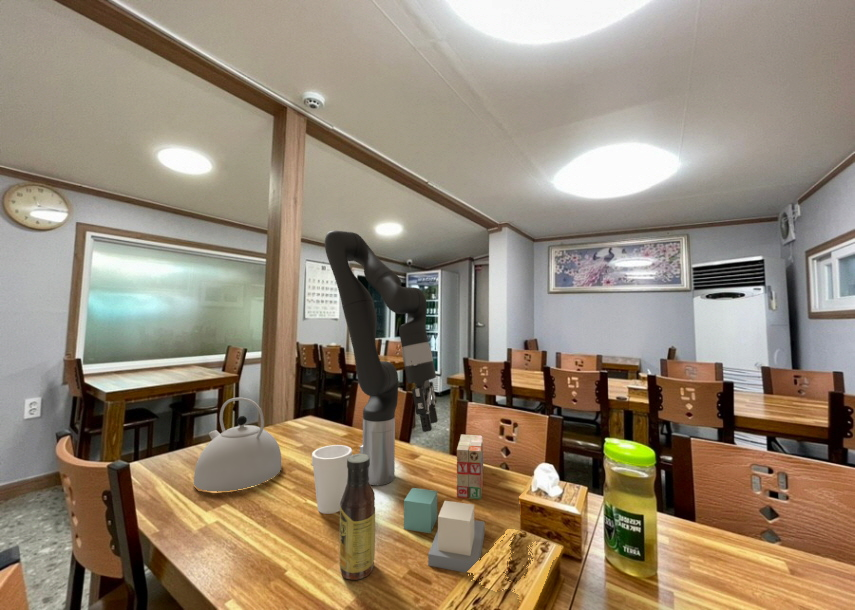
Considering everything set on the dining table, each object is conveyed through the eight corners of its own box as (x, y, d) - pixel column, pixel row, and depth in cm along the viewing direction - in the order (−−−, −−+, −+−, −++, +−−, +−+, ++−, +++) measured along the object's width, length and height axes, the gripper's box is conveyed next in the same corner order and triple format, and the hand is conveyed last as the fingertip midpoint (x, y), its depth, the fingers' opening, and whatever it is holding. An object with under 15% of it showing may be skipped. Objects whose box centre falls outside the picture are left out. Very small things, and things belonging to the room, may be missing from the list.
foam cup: (358, 500, 84) (359, 447, 85) (336, 520, 75) (337, 461, 76) (326, 494, 87) (327, 443, 88) (302, 513, 78) (303, 456, 79)
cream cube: (438, 550, 62) (438, 516, 63) (444, 531, 68) (444, 500, 68) (470, 555, 61) (469, 521, 61) (474, 536, 66) (474, 504, 67)
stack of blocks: (463, 464, 107) (463, 425, 107) (483, 466, 105) (483, 426, 106) (456, 498, 86) (456, 448, 86) (481, 500, 84) (480, 450, 85)
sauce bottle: (342, 559, 63) (343, 450, 64) (375, 557, 63) (376, 449, 65) (335, 585, 56) (337, 464, 58) (373, 583, 57) (374, 462, 58)
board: (428, 565, 61) (428, 554, 61) (443, 525, 74) (443, 515, 74) (477, 574, 59) (477, 562, 59) (484, 531, 71) (484, 521, 71)
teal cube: (403, 529, 72) (403, 500, 73) (412, 514, 78) (412, 487, 78) (430, 533, 71) (430, 504, 71) (437, 518, 76) (437, 491, 77)
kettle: (168, 483, 94) (172, 401, 95) (240, 455, 115) (243, 388, 116) (231, 500, 84) (235, 409, 86) (297, 466, 105) (299, 393, 107)
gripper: (411, 363, 94) (422, 422, 91) (396, 366, 80) (409, 436, 77) (437, 358, 92) (449, 418, 90) (427, 360, 78) (440, 431, 76)
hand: (430, 426), depth 84 cm, fingers open, 8 cm apart
